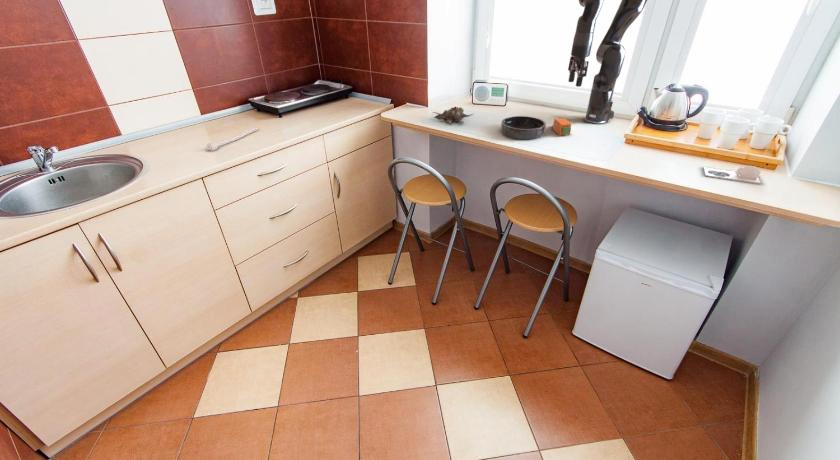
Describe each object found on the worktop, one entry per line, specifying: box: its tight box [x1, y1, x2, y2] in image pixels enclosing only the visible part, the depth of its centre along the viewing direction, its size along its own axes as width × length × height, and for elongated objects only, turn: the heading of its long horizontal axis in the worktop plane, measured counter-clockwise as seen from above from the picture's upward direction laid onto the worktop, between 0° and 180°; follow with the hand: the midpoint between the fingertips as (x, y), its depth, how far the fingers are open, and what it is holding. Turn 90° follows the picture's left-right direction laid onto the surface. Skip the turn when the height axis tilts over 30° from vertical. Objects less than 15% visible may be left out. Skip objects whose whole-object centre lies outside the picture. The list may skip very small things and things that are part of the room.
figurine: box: [432, 106, 474, 125], centre depth 186 cm, size 20×6×17 cm
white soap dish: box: [703, 164, 762, 185], centre depth 129 cm, size 15×7×4 cm, turn 64°
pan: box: [500, 115, 547, 141], centre depth 168 cm, size 19×19×4 cm
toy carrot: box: [552, 118, 572, 136], centre depth 169 cm, size 13×4×5 cm, turn 3°
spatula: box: [206, 127, 259, 152], centre depth 170 cm, size 28×4×3 cm, turn 158°
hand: (574, 84), depth 170 cm, fingers open, 8 cm apart
